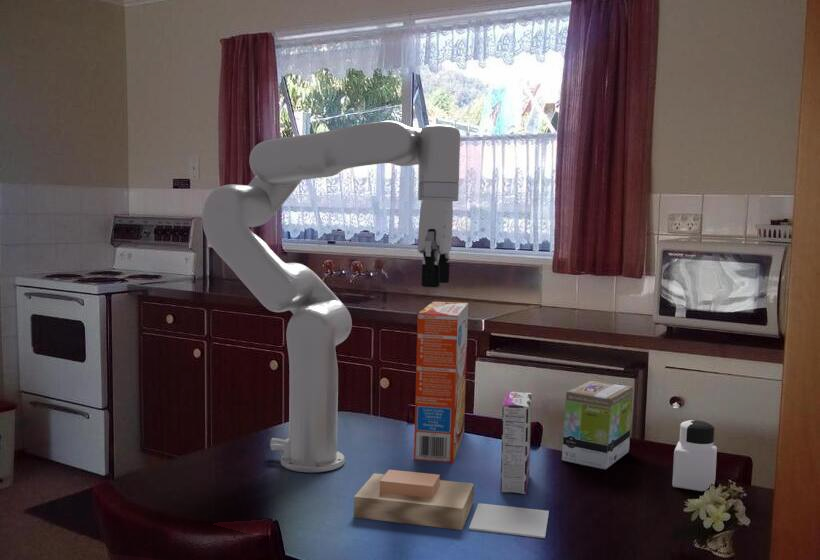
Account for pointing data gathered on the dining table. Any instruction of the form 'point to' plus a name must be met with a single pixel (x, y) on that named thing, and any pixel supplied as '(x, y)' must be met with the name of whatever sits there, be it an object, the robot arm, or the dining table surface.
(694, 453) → the medicine bottle
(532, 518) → the mat
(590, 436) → the tea box
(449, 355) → the pasta box
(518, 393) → the candy bar box
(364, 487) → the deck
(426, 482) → the block
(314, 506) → the dining table surface
